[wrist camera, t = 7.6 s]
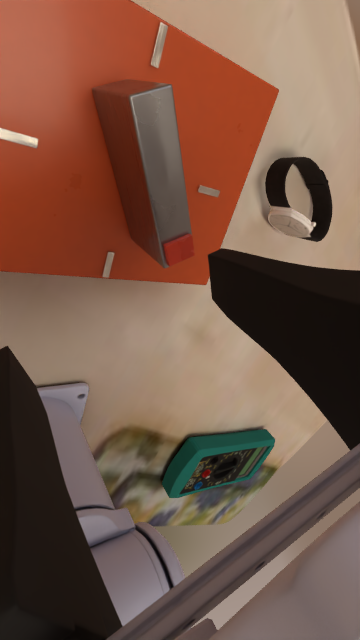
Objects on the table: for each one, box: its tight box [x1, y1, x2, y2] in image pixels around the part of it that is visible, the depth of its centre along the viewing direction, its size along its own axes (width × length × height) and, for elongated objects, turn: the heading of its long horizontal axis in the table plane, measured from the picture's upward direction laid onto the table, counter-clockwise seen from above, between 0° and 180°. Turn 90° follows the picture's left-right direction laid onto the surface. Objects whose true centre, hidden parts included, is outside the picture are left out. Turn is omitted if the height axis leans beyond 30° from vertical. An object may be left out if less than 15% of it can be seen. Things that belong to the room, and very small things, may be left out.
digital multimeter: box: [162, 429, 275, 498], centre depth 41 cm, size 7×15×3 cm, turn 61°
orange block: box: [0, 0, 279, 285], centre depth 17 cm, size 14×11×3 cm
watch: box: [265, 157, 332, 242], centre depth 24 cm, size 8×5×4 cm, turn 47°
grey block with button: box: [92, 79, 195, 268], centre depth 14 cm, size 6×2×4 cm, turn 11°
